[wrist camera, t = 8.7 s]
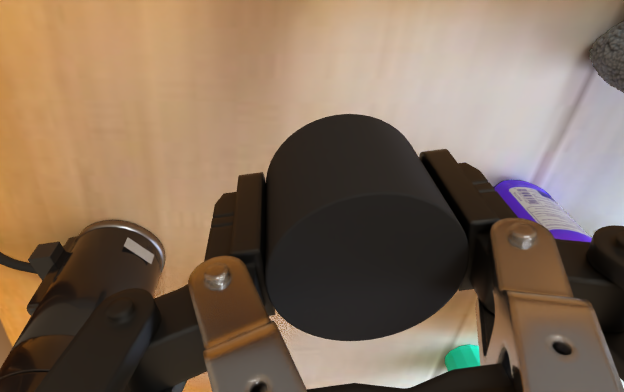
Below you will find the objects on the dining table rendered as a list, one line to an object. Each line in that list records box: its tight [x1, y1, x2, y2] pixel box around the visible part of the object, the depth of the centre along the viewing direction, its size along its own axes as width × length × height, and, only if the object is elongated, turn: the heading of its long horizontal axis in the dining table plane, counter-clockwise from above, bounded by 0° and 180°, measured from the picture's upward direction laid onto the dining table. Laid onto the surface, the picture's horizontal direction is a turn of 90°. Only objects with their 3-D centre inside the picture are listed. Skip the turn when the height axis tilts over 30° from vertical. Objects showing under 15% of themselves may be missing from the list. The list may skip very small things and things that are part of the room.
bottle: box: [494, 180, 592, 242], centre depth 39 cm, size 7×6×17 cm
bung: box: [265, 114, 469, 341], centre depth 12 cm, size 5×5×6 cm
